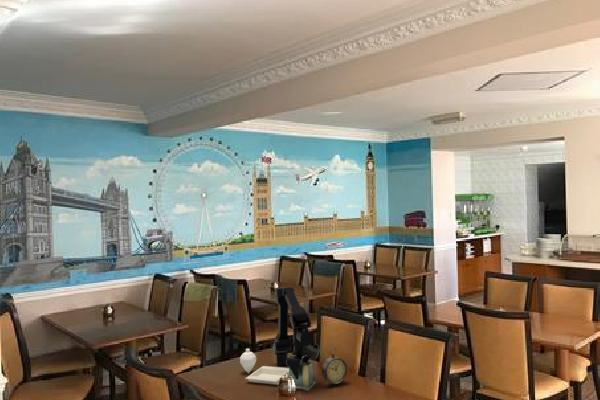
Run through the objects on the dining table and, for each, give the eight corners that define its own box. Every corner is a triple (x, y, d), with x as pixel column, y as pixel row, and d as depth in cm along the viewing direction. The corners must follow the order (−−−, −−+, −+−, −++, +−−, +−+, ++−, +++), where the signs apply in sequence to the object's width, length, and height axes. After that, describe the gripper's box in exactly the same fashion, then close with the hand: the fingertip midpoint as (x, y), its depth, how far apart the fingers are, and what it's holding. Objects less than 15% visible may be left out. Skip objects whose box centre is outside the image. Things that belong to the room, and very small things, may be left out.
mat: (295, 380, 223) (295, 379, 223) (316, 382, 219) (316, 381, 219) (286, 388, 214) (286, 387, 214) (308, 390, 210) (308, 389, 210)
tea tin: (294, 381, 221) (293, 360, 221) (313, 383, 217) (312, 362, 218) (289, 385, 216) (288, 364, 216) (308, 387, 213) (308, 365, 213)
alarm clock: (326, 389, 211) (325, 350, 212) (320, 385, 216) (319, 347, 216) (348, 384, 216) (347, 346, 217) (341, 380, 221) (340, 344, 221)
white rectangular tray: (263, 372, 236) (263, 365, 237) (292, 374, 231) (292, 368, 231) (245, 385, 220) (245, 378, 220) (276, 388, 214) (276, 381, 214)
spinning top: (237, 375, 234) (236, 349, 234) (249, 370, 239) (248, 345, 239) (247, 378, 228) (246, 352, 229) (260, 374, 234) (259, 348, 234)
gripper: (309, 346, 205) (311, 384, 205) (324, 335, 223) (325, 370, 222) (285, 345, 209) (286, 382, 209) (301, 334, 227) (302, 368, 226)
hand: (301, 375), depth 217 cm, fingers open, 9 cm apart
